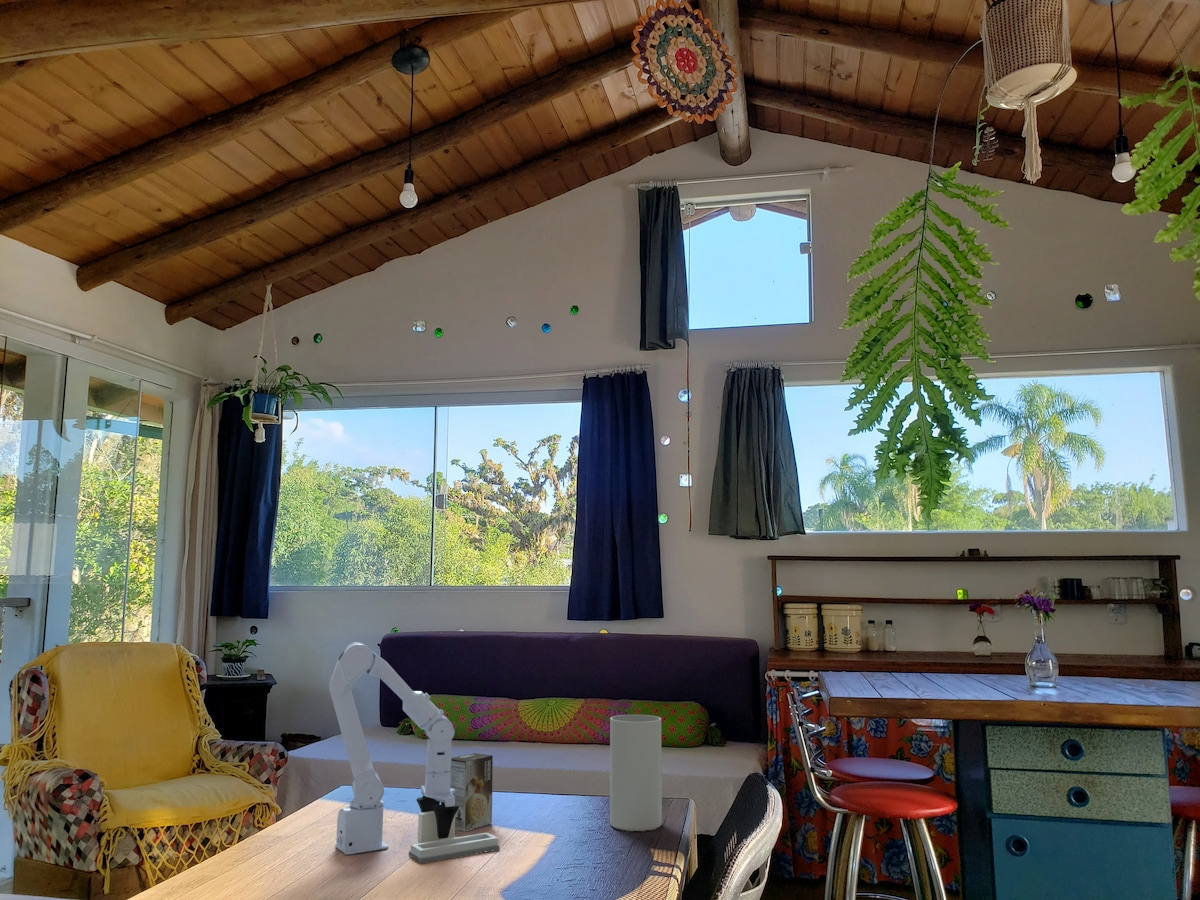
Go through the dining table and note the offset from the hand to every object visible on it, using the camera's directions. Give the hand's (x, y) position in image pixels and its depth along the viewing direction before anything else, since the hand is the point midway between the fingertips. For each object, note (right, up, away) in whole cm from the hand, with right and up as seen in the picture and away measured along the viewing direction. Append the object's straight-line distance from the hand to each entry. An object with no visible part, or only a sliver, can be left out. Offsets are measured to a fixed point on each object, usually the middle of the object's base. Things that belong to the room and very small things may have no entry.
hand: (436, 833), depth 201 cm
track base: (+6, 0, -8) cm, 10 cm away
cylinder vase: (+46, -4, +14) cm, 48 cm away
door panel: (0, -2, 0) cm, 2 cm away
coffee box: (+6, -4, +13) cm, 15 cm away
